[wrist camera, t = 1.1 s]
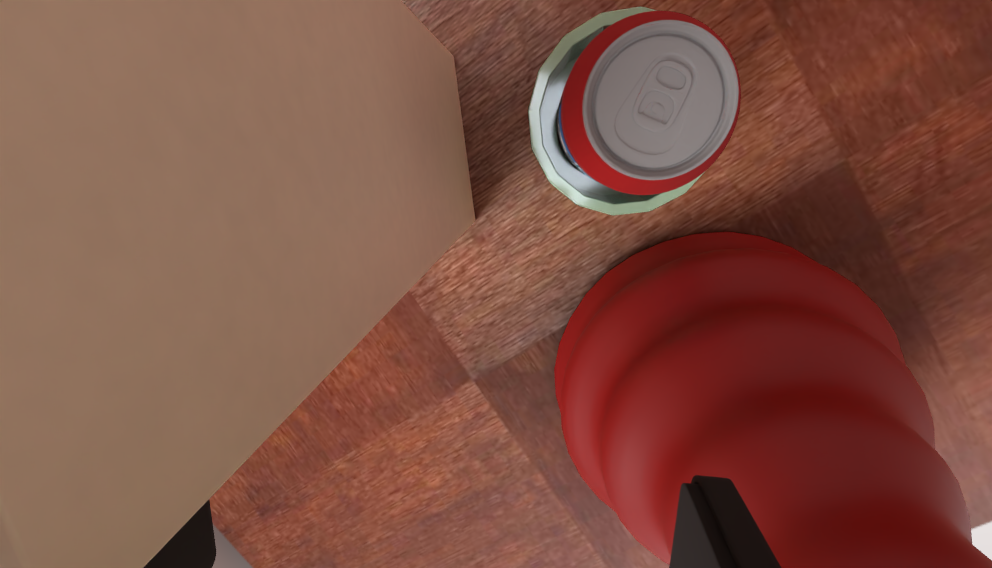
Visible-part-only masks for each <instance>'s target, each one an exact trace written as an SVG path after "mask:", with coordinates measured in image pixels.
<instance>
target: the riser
mask: <svg viewBox="0 0 992 568" xmlns="http://www.w3.org/2000/svg"><path fill="white" fill-rule="evenodd" d="M474 222H475V213H474V206H473V198H472V190H471V183H470V175H469V168H468V160H467V153H466V145H465V138H464V130H463V123H462V115H461V108H460V100H459V92H458V85H457V77H456V70H455V62H454V56H453V55H452V54H451V53H450V52H449V51H448V50H447V49H446V48H445V47H444V45H443V44H442V43H441V42H440V41H439V40H438V39H437V38H436V37H435V36H434V35H433V34H432V33H431V32H430V31H429V30H428V29H427V27H426V26H425V25H424V24H423V23H422V22H421V21H420V20H419V19H418V18H417V17H416V16H415V15H414V14H413V13H412V12H411V11H410V9H409V8H408V7H407V6H406V5H405V4H404V3H403V2H402V1H401V0H0V568H143V567H144V566H145V565H146V564H147V563H148V562H149V561H150V560H151V559H152V558H153V557H154V556H155V555H156V554H157V553H158V552H159V551H160V550H161V549H162V548H163V547H164V546H165V545H166V543H167V542H168V541H169V540H170V539H171V538H172V537H173V536H174V535H175V534H176V533H177V532H178V531H179V530H180V529H181V528H182V527H183V526H184V525H185V524H186V523H187V522H188V521H189V519H190V518H191V517H192V516H193V515H194V514H195V513H196V512H197V511H198V510H199V509H200V508H201V507H202V506H203V505H204V504H205V503H206V502H207V501H208V500H209V499H210V498H211V497H212V495H213V494H214V493H215V492H216V491H217V490H218V489H219V488H220V487H221V486H222V485H223V484H224V483H225V482H226V481H227V480H228V479H229V478H230V477H231V476H232V475H233V474H234V473H235V471H236V470H237V469H238V468H239V467H240V466H241V465H242V464H243V463H244V462H245V461H246V460H247V459H248V458H249V457H250V456H251V455H252V454H253V453H254V452H255V451H256V450H257V448H258V447H259V446H260V445H261V444H262V443H263V442H264V441H265V440H266V439H267V438H268V437H269V436H270V435H271V434H272V433H273V432H274V431H275V430H276V429H277V428H278V427H279V426H280V424H281V423H282V422H283V421H284V420H285V419H286V418H287V417H288V416H289V415H290V414H291V413H292V412H293V411H294V410H295V409H296V408H297V407H298V406H299V405H300V404H301V403H302V402H303V400H304V399H305V398H306V397H307V396H308V395H309V394H310V393H311V392H312V391H313V390H314V389H315V388H316V387H317V386H318V385H319V384H320V383H321V382H322V381H323V380H324V379H325V378H326V376H327V375H328V374H329V373H330V372H331V371H332V370H333V369H334V368H335V367H336V366H337V365H338V364H339V363H340V362H341V361H342V360H343V359H344V358H345V357H346V356H347V355H348V354H349V352H350V351H351V350H352V349H353V348H354V347H355V346H356V345H357V344H358V343H359V342H360V341H361V340H362V339H363V338H364V337H365V336H366V335H367V334H368V333H369V332H370V331H371V330H372V328H373V327H374V326H375V325H376V324H377V323H378V322H379V321H380V320H381V319H382V318H383V317H384V316H385V315H386V314H387V313H388V312H389V311H390V310H391V309H392V308H393V307H394V306H395V304H396V303H397V302H398V301H399V300H400V299H401V298H402V297H403V296H404V295H405V294H406V293H407V292H408V291H409V290H410V289H411V288H412V287H413V286H414V285H415V284H416V283H417V282H418V280H419V279H420V278H421V277H422V276H423V275H424V274H425V273H426V272H427V271H428V270H429V269H430V268H431V267H432V266H433V265H434V264H435V263H436V262H437V261H438V260H439V259H440V258H441V256H442V255H443V254H444V253H445V252H446V251H447V250H448V249H449V248H450V247H451V246H452V245H453V244H454V243H455V242H456V241H457V240H458V239H459V238H460V237H461V236H462V235H463V234H464V232H465V231H466V230H467V229H468V228H469V227H470V226H471V225H472V224H473V223H474Z"/></svg>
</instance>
